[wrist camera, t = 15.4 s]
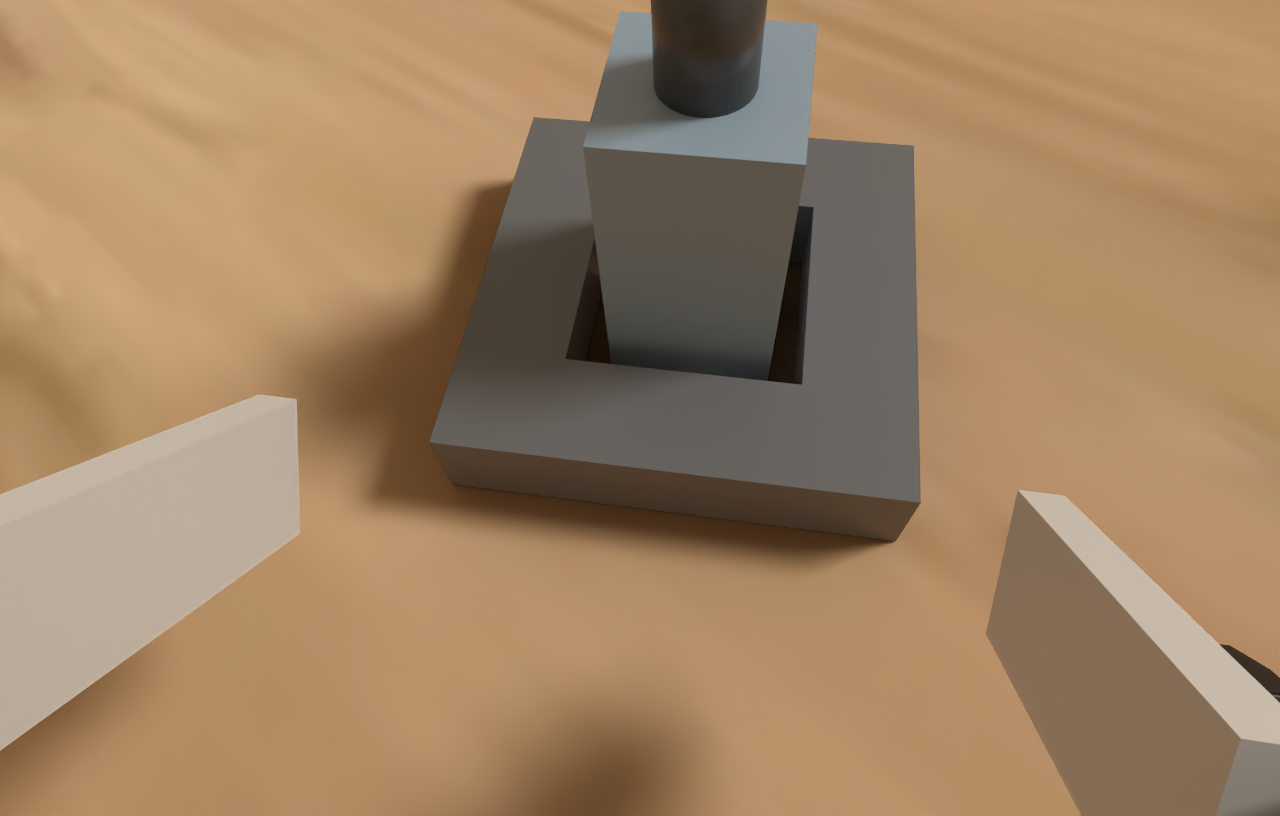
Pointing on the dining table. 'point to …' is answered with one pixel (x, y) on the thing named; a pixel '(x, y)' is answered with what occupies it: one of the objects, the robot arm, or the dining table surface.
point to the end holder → (691, 402)
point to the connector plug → (698, 182)
